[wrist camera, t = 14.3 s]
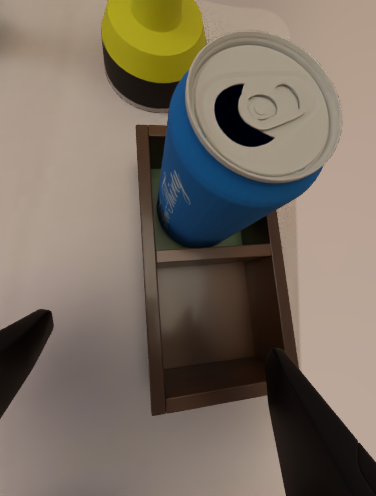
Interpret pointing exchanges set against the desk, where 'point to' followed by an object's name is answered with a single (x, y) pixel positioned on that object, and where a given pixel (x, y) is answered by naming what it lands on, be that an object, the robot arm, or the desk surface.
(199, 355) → the wooden divided tray
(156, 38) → the flashlight
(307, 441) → the robot arm
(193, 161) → the beverage can
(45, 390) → the desk surface
